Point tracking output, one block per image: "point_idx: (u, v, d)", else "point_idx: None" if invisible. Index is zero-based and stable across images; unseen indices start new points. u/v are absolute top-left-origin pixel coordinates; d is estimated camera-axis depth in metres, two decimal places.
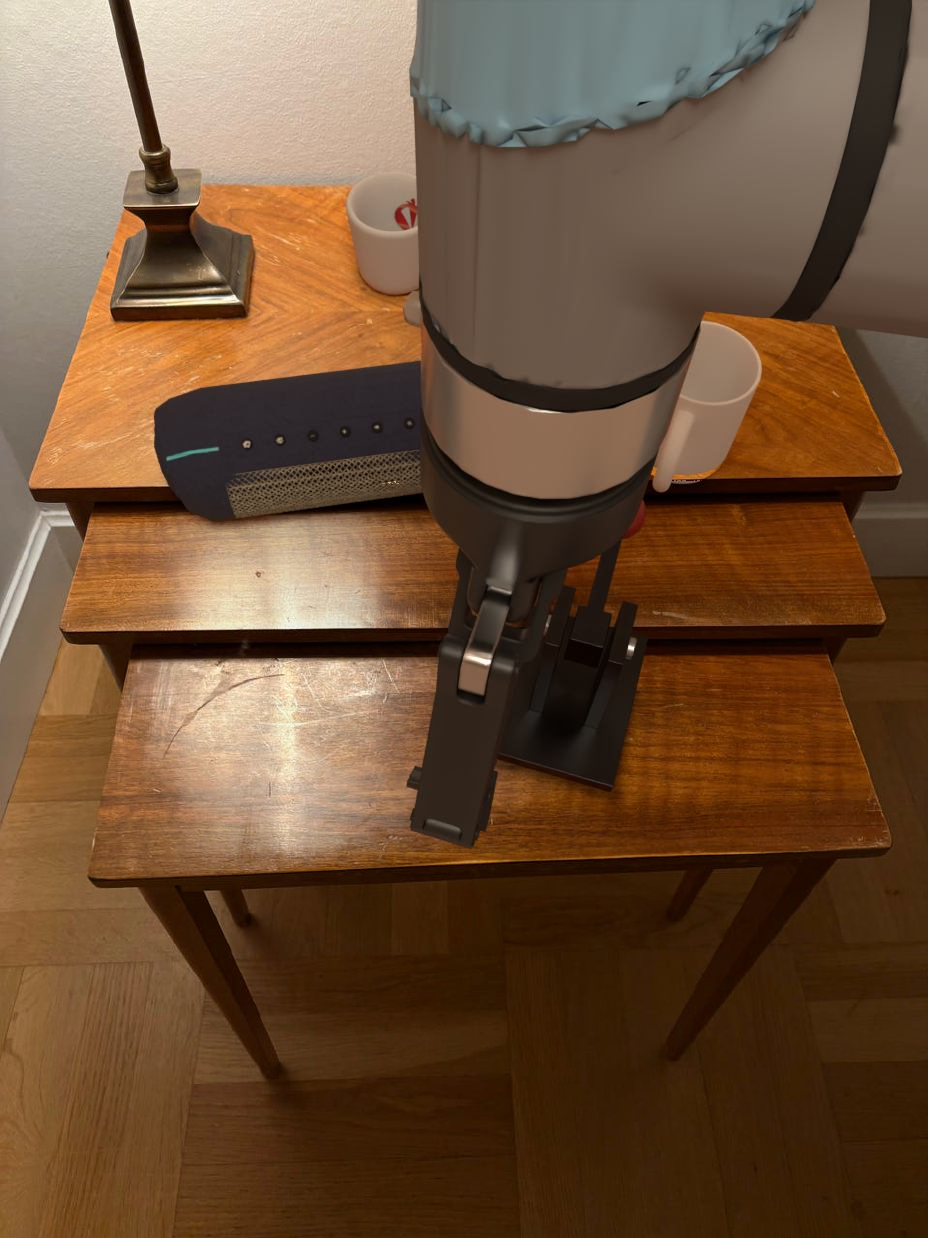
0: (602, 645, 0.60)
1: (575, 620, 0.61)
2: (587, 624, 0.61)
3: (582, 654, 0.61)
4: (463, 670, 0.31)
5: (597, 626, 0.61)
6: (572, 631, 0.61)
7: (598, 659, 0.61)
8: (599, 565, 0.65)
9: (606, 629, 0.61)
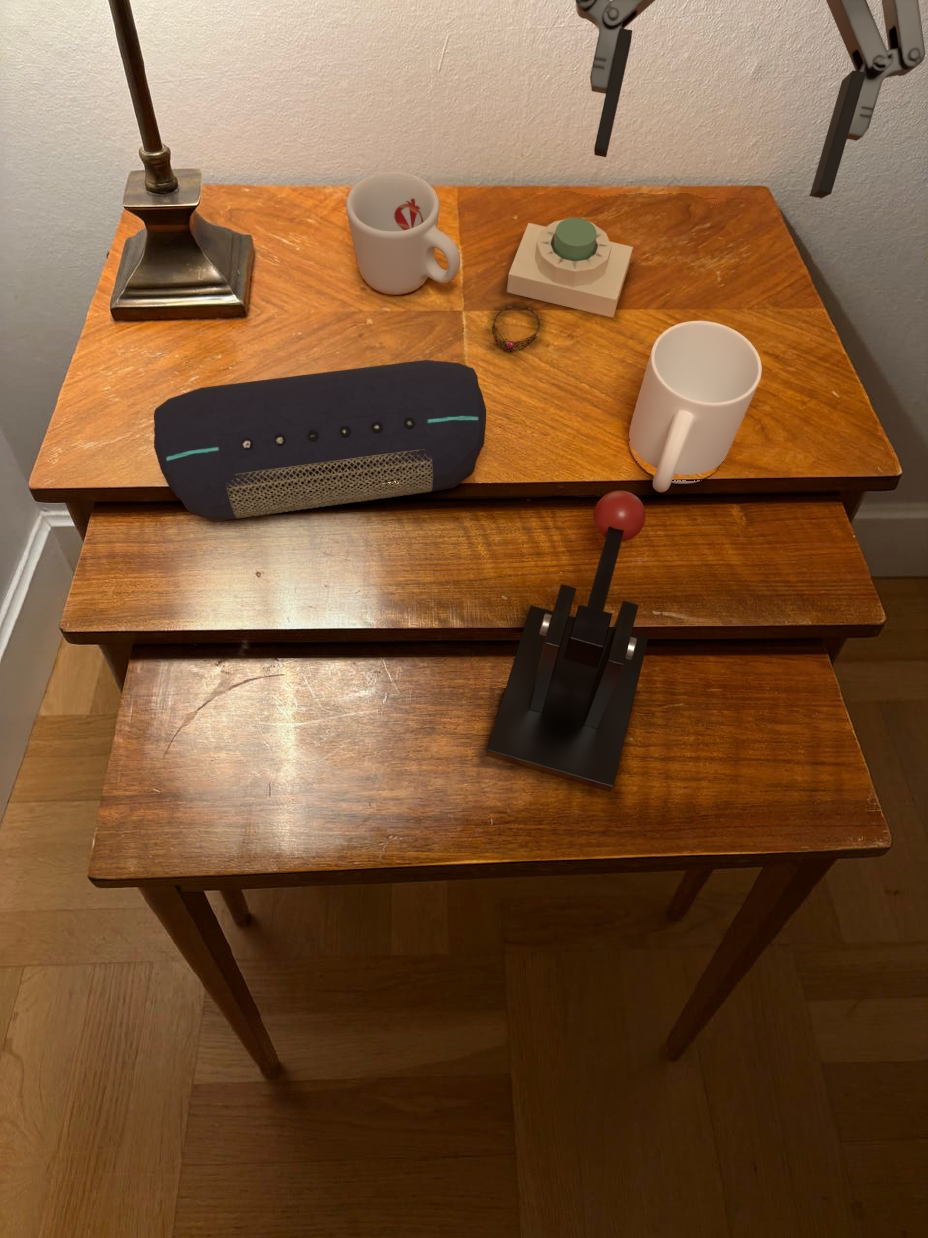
0: (602, 644, 0.60)
1: (575, 620, 0.61)
2: (587, 623, 0.61)
3: (582, 654, 0.61)
4: None
5: (597, 625, 0.61)
6: (572, 630, 0.61)
7: (598, 659, 0.61)
8: (599, 566, 0.65)
9: (606, 629, 0.61)
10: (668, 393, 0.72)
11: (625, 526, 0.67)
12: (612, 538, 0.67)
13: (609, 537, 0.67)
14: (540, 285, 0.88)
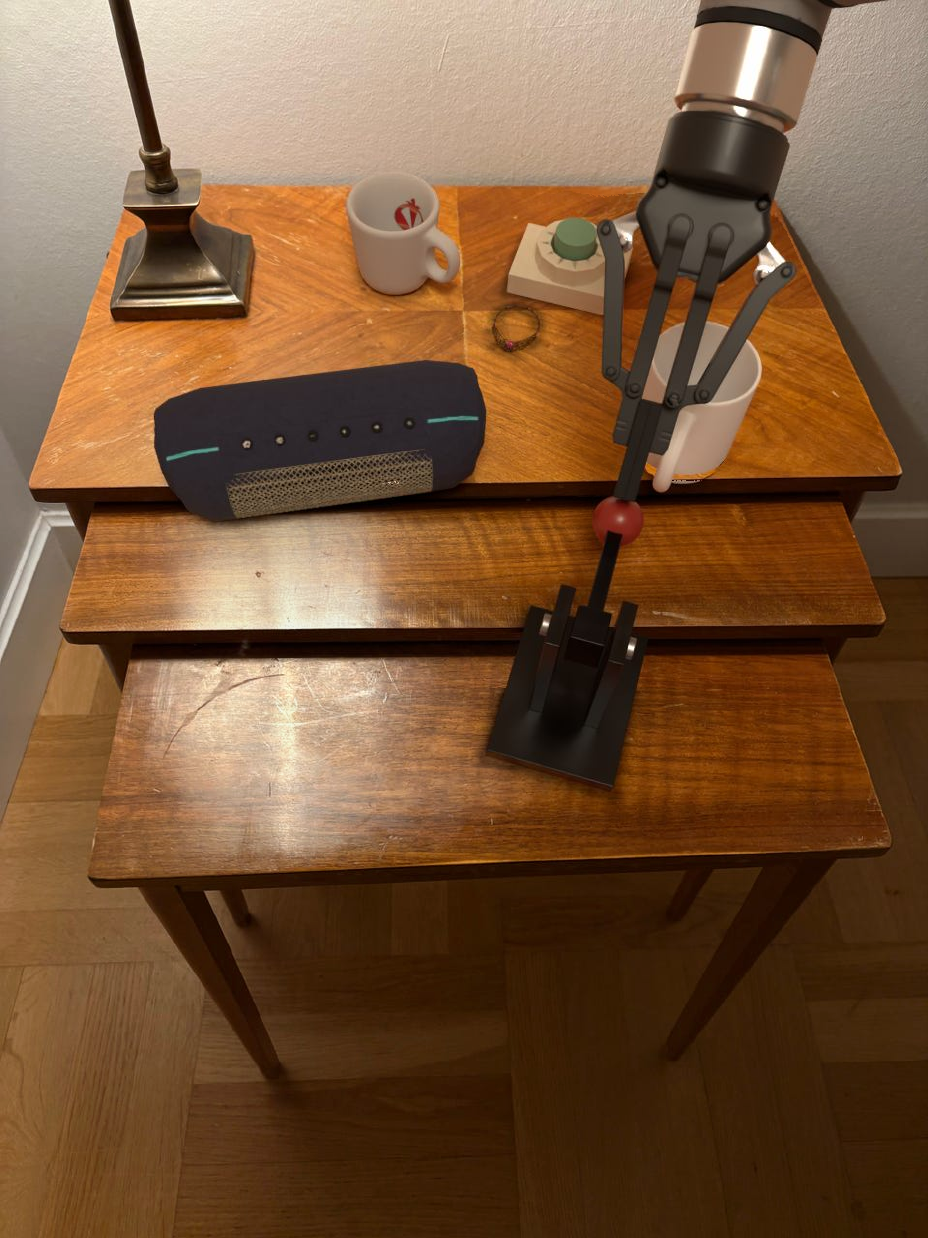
0: (603, 643, 0.60)
1: (575, 619, 0.61)
2: (587, 623, 0.61)
3: (582, 653, 0.61)
4: None
5: (597, 625, 0.61)
6: (572, 629, 0.61)
7: (598, 658, 0.61)
8: (598, 568, 0.65)
9: (606, 628, 0.61)
10: None
11: (624, 530, 0.67)
12: (611, 541, 0.67)
13: (608, 540, 0.67)
14: (540, 285, 0.88)
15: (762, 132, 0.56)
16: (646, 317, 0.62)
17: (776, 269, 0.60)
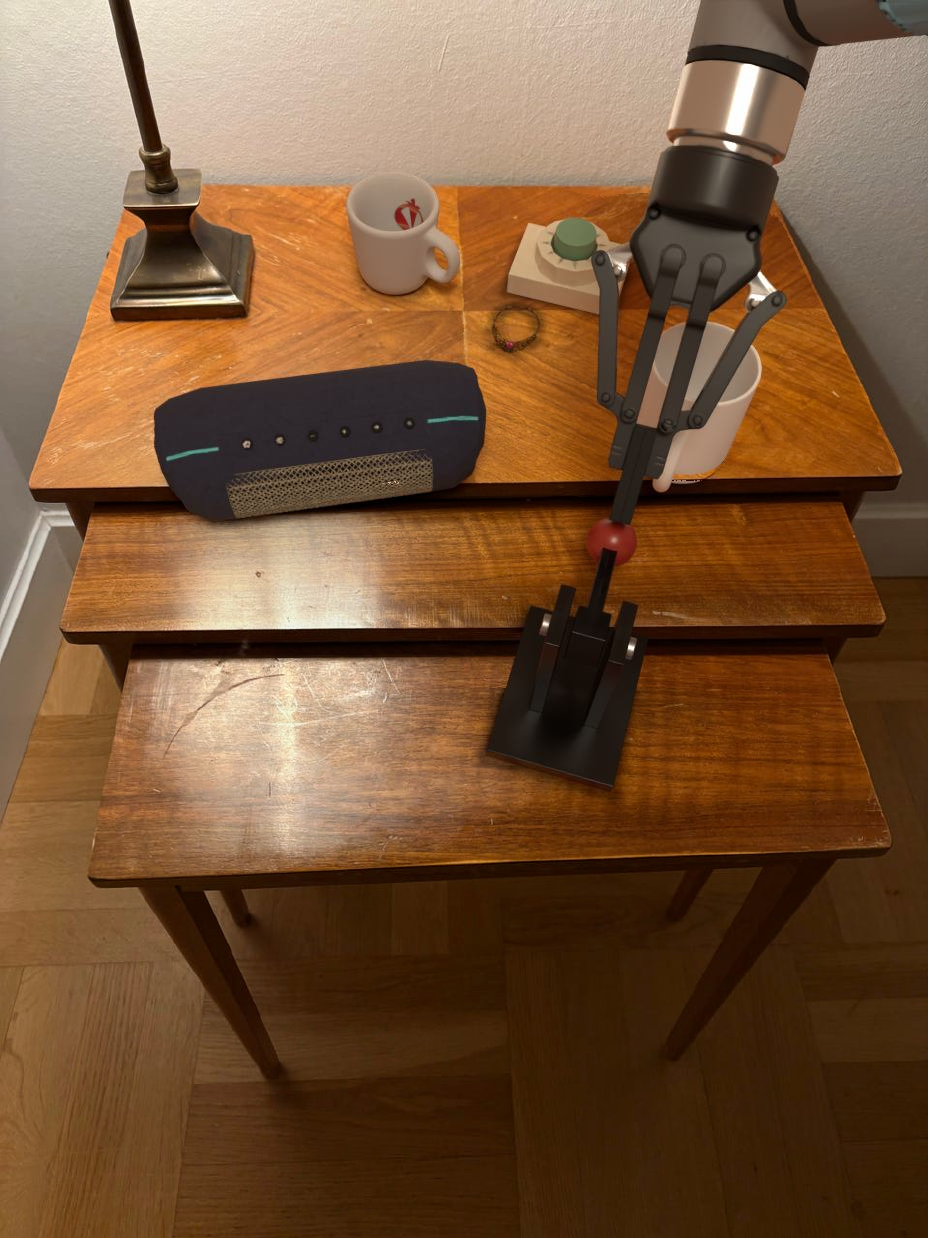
0: (604, 638, 0.60)
1: (576, 617, 0.61)
2: (588, 621, 0.61)
3: (583, 651, 0.61)
4: None
5: (598, 622, 0.61)
6: (574, 626, 0.61)
7: (599, 656, 0.61)
8: (595, 578, 0.66)
9: (607, 626, 0.61)
10: None
11: (619, 547, 0.69)
12: (606, 557, 0.68)
13: (604, 555, 0.68)
14: (540, 285, 0.88)
15: (751, 166, 0.58)
16: (640, 345, 0.64)
17: (767, 298, 0.62)
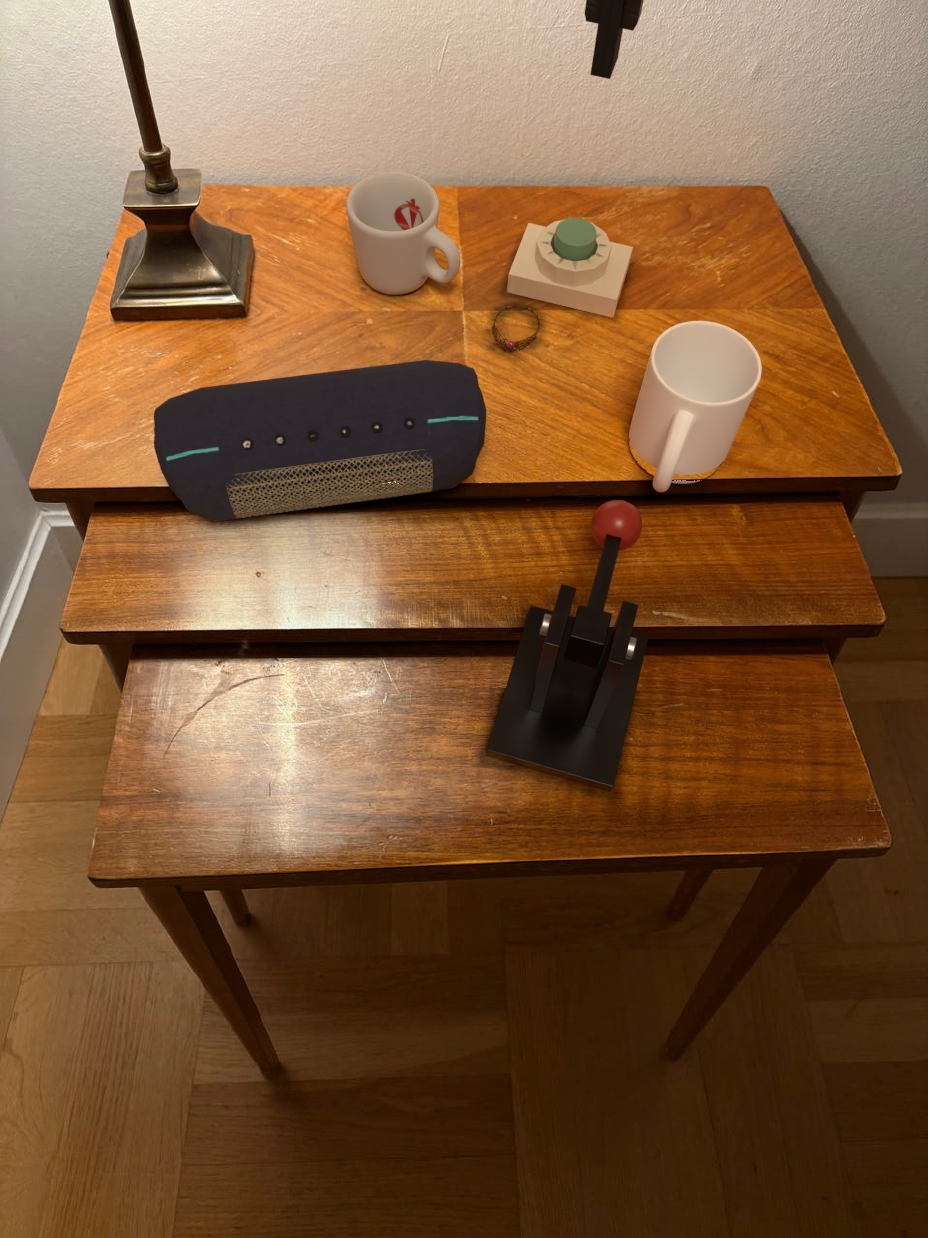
0: (603, 642, 0.60)
1: (575, 619, 0.61)
2: (587, 622, 0.61)
3: (582, 653, 0.61)
4: None
5: (597, 624, 0.61)
6: (573, 629, 0.61)
7: (598, 658, 0.61)
8: (597, 570, 0.65)
9: (606, 627, 0.61)
10: (668, 393, 0.72)
11: (623, 533, 0.68)
12: (610, 545, 0.67)
13: (607, 543, 0.67)
14: (540, 285, 0.88)
15: None
16: None
17: None
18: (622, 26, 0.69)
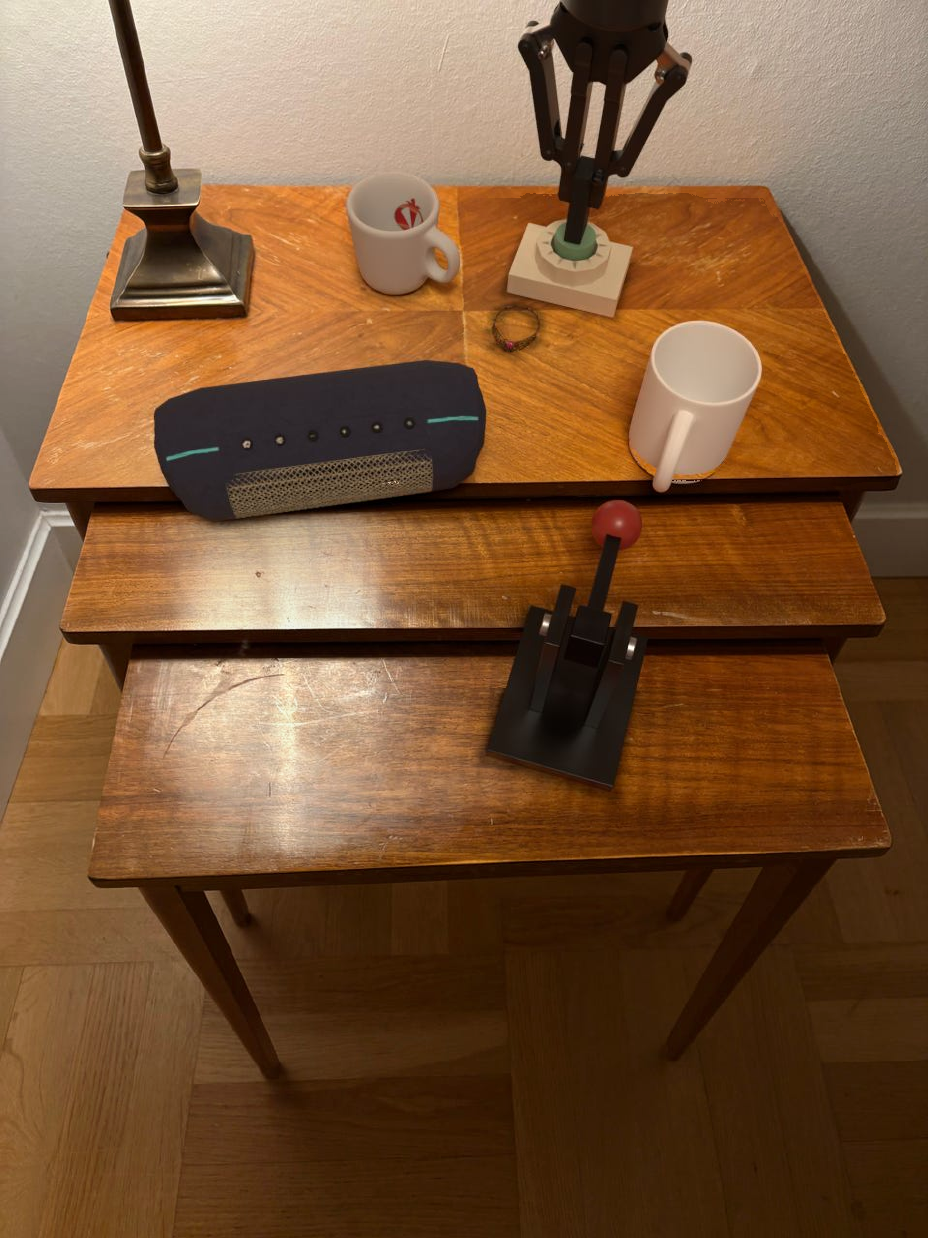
0: (603, 642, 0.60)
1: (575, 619, 0.61)
2: (587, 622, 0.61)
3: (582, 653, 0.61)
4: None
5: (597, 624, 0.61)
6: (573, 629, 0.61)
7: (598, 658, 0.61)
8: (597, 570, 0.65)
9: (606, 627, 0.61)
10: (668, 393, 0.72)
11: (623, 533, 0.68)
12: (610, 545, 0.67)
13: (607, 543, 0.67)
14: (540, 285, 0.88)
15: None
16: (569, 115, 0.75)
17: (669, 77, 0.71)
18: (589, 206, 0.82)
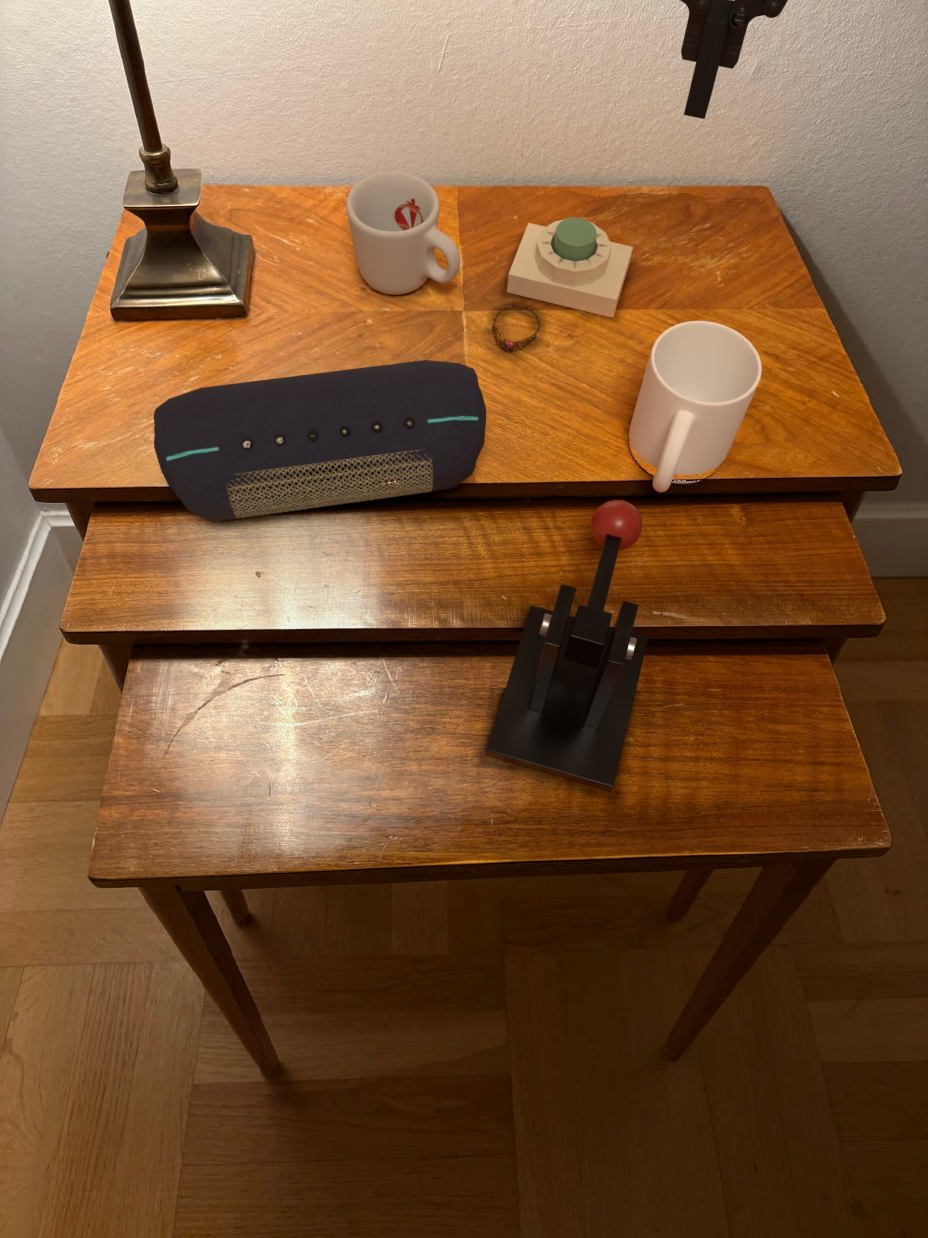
0: (603, 642, 0.60)
1: (575, 619, 0.61)
2: (587, 622, 0.61)
3: (582, 653, 0.61)
4: None
5: (597, 624, 0.61)
6: (573, 629, 0.61)
7: (598, 658, 0.61)
8: (597, 570, 0.65)
9: (606, 627, 0.61)
10: (668, 393, 0.72)
11: (623, 533, 0.68)
12: (610, 545, 0.67)
13: (607, 543, 0.67)
14: (540, 285, 0.88)
15: None
16: None
17: None
18: (721, 64, 0.65)
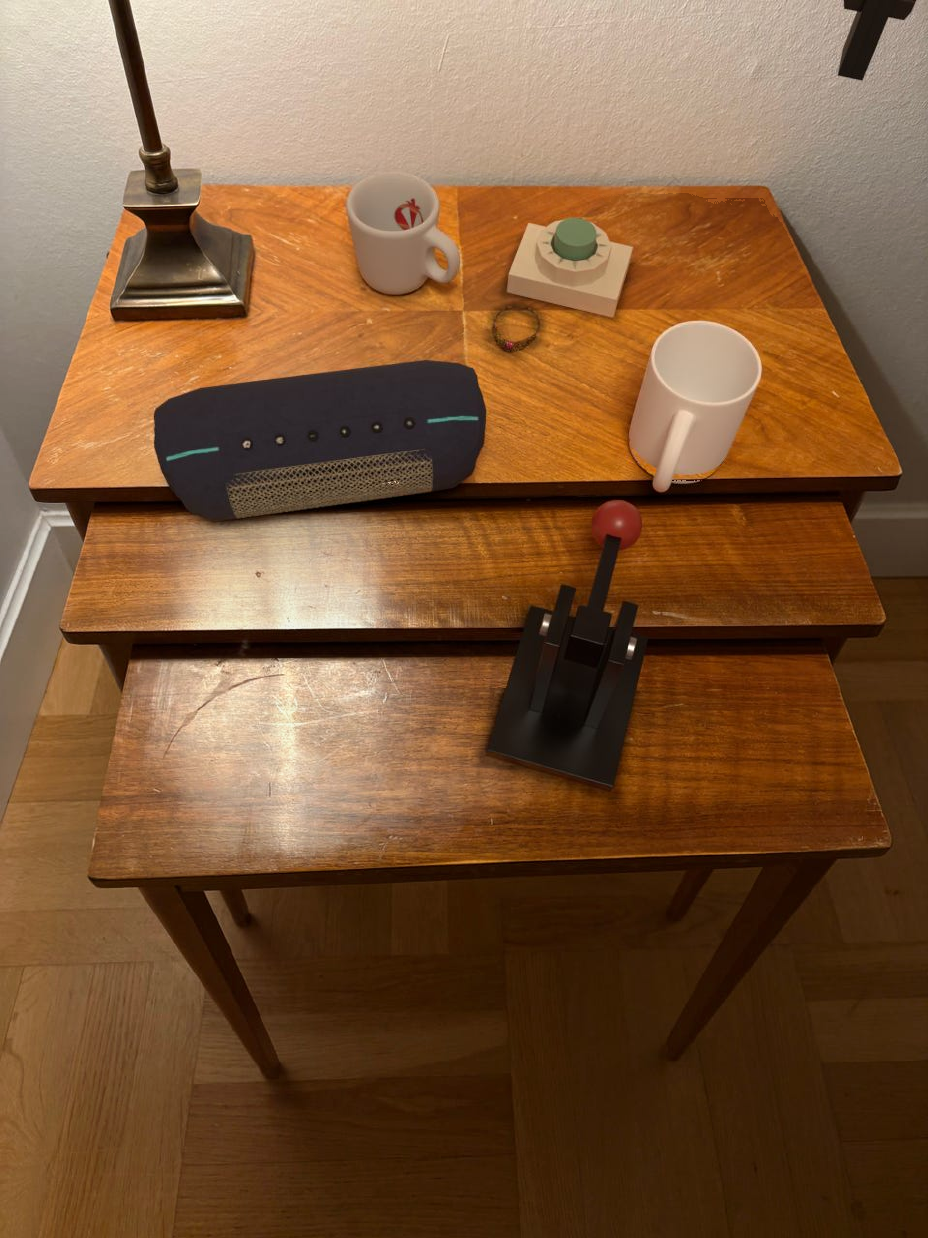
0: (603, 642, 0.60)
1: (575, 619, 0.61)
2: (587, 622, 0.61)
3: (582, 653, 0.61)
4: None
5: (597, 624, 0.61)
6: (573, 629, 0.61)
7: (598, 658, 0.61)
8: (597, 570, 0.65)
9: (606, 627, 0.61)
10: (668, 393, 0.72)
11: (623, 533, 0.68)
12: (610, 545, 0.67)
13: (607, 543, 0.67)
14: (540, 285, 0.88)
15: None
16: None
17: None
18: (890, 15, 0.55)
